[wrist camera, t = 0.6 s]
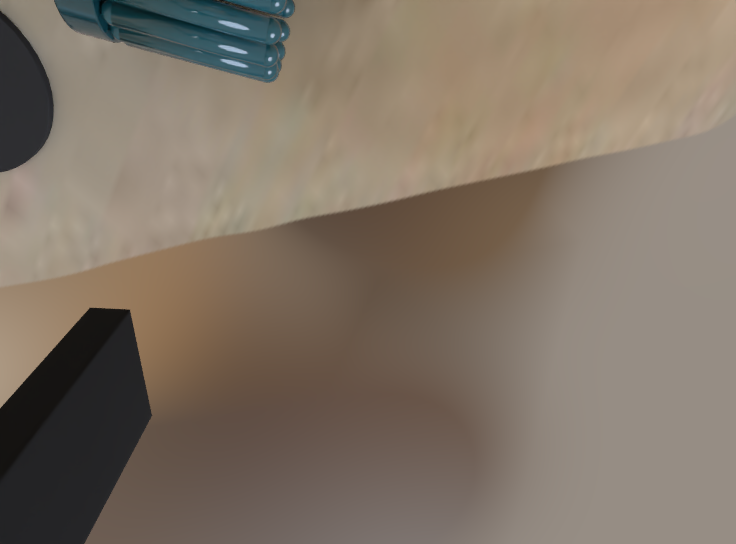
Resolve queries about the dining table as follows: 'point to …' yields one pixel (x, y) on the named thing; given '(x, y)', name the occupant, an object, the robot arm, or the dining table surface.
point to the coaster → (21, 98)
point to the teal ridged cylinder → (191, 30)
